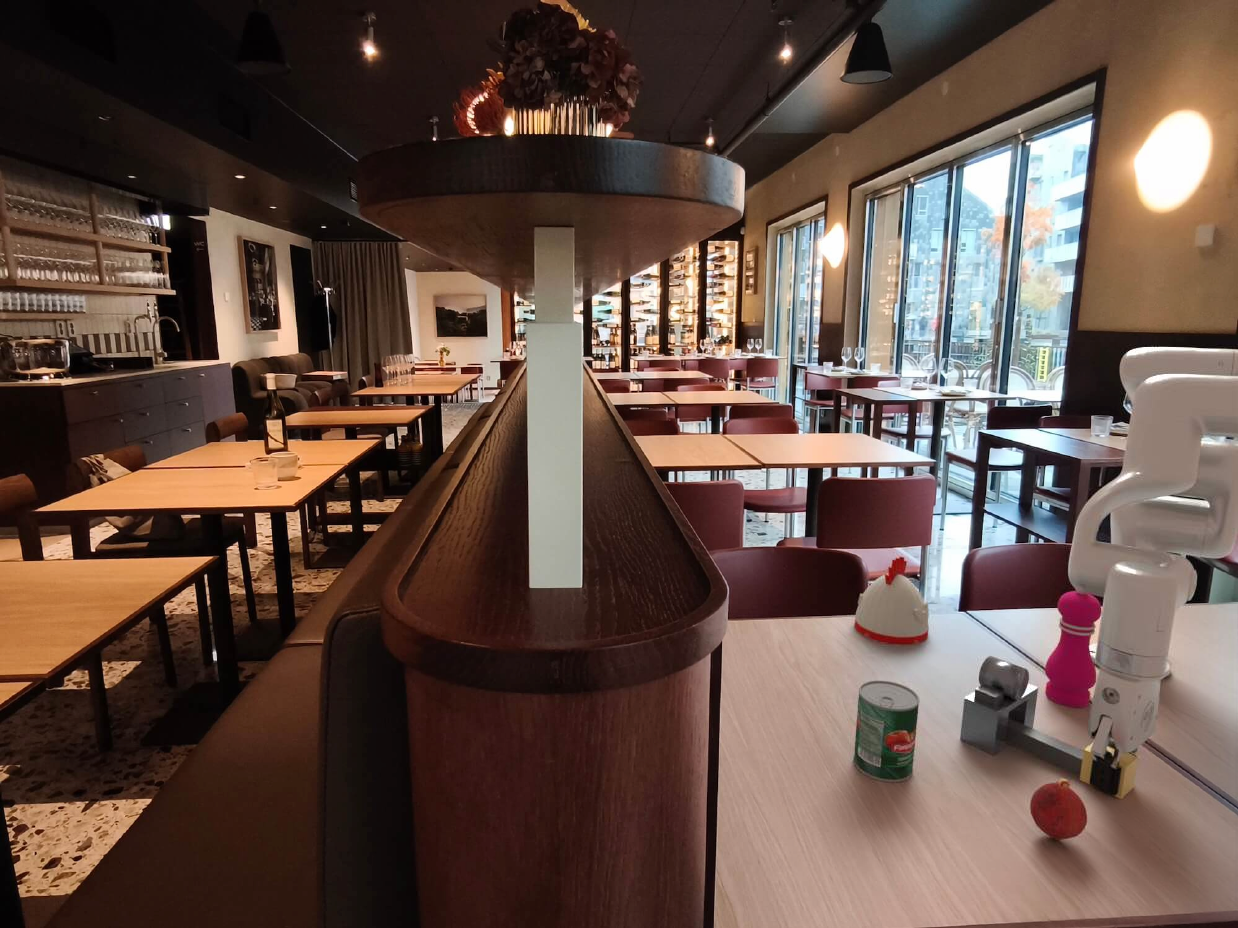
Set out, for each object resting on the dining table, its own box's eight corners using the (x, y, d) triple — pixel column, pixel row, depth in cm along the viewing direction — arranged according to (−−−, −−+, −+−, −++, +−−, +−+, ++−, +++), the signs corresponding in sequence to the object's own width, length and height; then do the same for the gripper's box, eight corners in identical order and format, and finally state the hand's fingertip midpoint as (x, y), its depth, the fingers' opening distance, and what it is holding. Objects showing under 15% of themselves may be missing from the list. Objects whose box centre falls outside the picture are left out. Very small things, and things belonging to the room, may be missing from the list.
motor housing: (1000, 713, 116) (1008, 646, 114) (1033, 727, 112) (1042, 658, 110) (960, 739, 109) (967, 667, 107) (993, 755, 105) (1002, 681, 103)
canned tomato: (858, 743, 108) (863, 674, 106) (915, 758, 104) (922, 687, 102) (848, 772, 101) (853, 700, 99) (909, 789, 98) (916, 714, 95)
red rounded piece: (1055, 859, 85) (1063, 798, 83) (1015, 827, 90) (1023, 769, 89) (1094, 849, 87) (1103, 790, 85) (1053, 818, 92) (1061, 761, 90)
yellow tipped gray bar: (986, 721, 114) (989, 694, 113) (1133, 787, 98) (1138, 756, 97) (972, 729, 112) (975, 702, 111) (1121, 798, 96) (1126, 767, 95)
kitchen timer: (938, 629, 147) (945, 558, 144) (911, 651, 138) (918, 576, 134) (872, 610, 157) (877, 543, 154) (842, 630, 147) (847, 559, 144)
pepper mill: (1100, 711, 117) (1118, 593, 113) (1051, 706, 118) (1066, 590, 114) (1081, 689, 124) (1097, 577, 120) (1035, 684, 125) (1049, 574, 121)
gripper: (1138, 687, 87) (1116, 823, 91) (1188, 650, 97) (1166, 774, 100) (1070, 663, 93) (1052, 791, 97) (1123, 631, 103) (1105, 748, 106)
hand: (1110, 781), depth 98 cm, fingers closed on yellow tipped gray bar, 4 cm apart
